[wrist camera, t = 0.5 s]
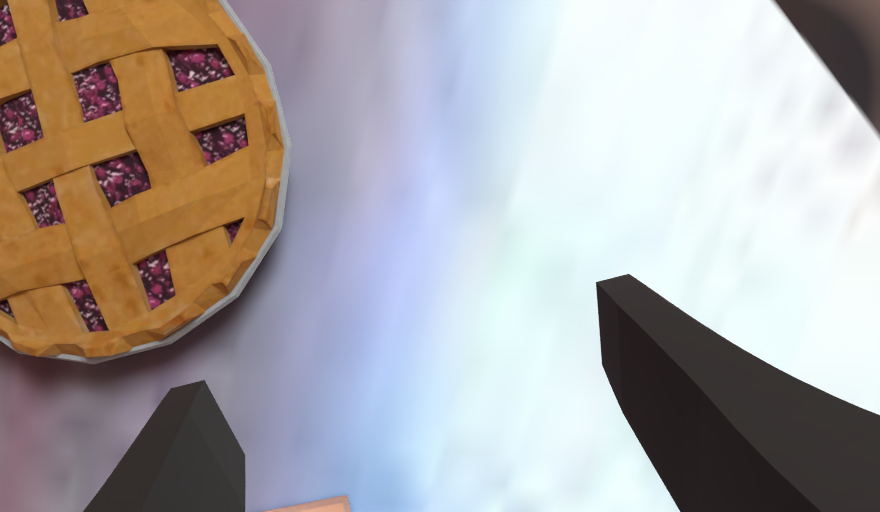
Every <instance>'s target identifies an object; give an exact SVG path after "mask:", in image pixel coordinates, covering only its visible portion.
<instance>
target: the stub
mask: <svg viewBox="0 0 880 512" xmlns="http://www.w3.org/2000/svg"><path fill="white" fill-rule="evenodd" d="M264 512H351V509H350V504H349V500H348V495H344V496H339V497H334V498H329V499H324V500H319V501H314V502H309V503H304V504H299V505H294V506H289V507H284V508H279V509H274V510H269V511H264Z"/></svg>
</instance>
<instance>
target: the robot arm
mask: <svg viewBox="0 0 880 512" xmlns="http://www.w3.org/2000/svg"><path fill="white" fill-rule="evenodd" d="M596 287H597V301H598V314H599V328H600V342H601V356H602V365H603V368H604V370H605V373H606V375H607V377H608V380H609V382H610V385H611V387H612V389H613V392H614V394H615V396H616V399H617V401H618V403H619V405H620V408H621V410H622V412H623V414H624V416H625V418H626V419H627V421H628V423H629V425H630V426H631V428H632V430H633V431H634V433H635V435H636V437H637V438H638V440H639V442H640V444H641V445H642V447H643V449H644V450H645V452H646V454H647V456H648V457H649V459H650V461H651V462H652V464H653V466H654V468H655V469H656V471H657V473H658V474H659V476H660V478H661V479H662V481H663V483H664V485H665V486H666V488H667V490H668V491H669V493H670V495H671V496H672V498H673V500H674V502H675V503H676V505H677V507H678V508H679V510H680V512H880V415H878V414H875V413H873V412H870V411H868V410H865V409H862V408H860V407H858V406H855V405H853V404H851V403H848V402H846V401H844V400H841V399H839V398H837V397H835V396H833V395H830V394H828V393H826V392H824V391H822V390H820V389H818V388H816V387H814V386H811V385H809V384H807V383H805V382H803V381H801V380H799V379H797V378H795V377H793V376H791V375H789V374H787V373H785V372H783V371H781V370H779V369H777V368H775V367H773V366H772V365H770V364H768V363H766V362H765V361H763V360H761V359H759V358H757V357H756V356H754V355H752V354H750V353H748V352H747V351H745V350H743V349H742V348H740V347H738V346H737V345H735V344H733V343H732V342H730V341H728V340H727V339H725V338H724V337H722V336H720V335H719V334H717V333H716V332H714V331H713V330H711V329H709V328H708V327H706V326H705V325H703V324H701V323H700V322H698V321H697V320H695V319H694V318H692V317H691V316H689V315H688V314H686V313H685V312H683V311H682V310H680V309H679V308H678V307H676V306H675V305H673V304H672V303H670V302H669V301H667V300H666V299H664V298H663V297H662V296H660V295H659V294H657V293H656V292H654V291H653V290H652V289H650V288H649V287H647V286H646V285H644V284H643V283H642V282H640V281H639V280H637V279H636V278H634V277H633V276H631V275H630V274H627V275H623V276H619V277H615V278H611V279H607V280H603V281H599V282H596ZM83 512H245V454H244V452H243V450H242V449H241V447H240V445H239V443H238V441H237V439H236V438H235V436H234V434H233V432H232V430H231V428H230V427H229V425H228V423H227V421H226V419H225V417H224V415H223V414H222V412H221V410H220V408H219V406H218V404H217V403H216V401H215V399H214V397H213V395H212V393H211V392H210V390H209V388H208V386H207V384H206V382H205V380H203V381H199V382H195V383H191V384H187V385H183V386H179V387H175V388H171V389H170V390H169V392H168V393H167V395H166V396H165V397H164V399H163V400H162V401H161V403H160V404H159V406H158V407H157V409H156V410H155V411H154V413H153V414H152V416H151V417H150V419H149V420H148V422H147V423H146V425H145V426H144V428H143V429H142V431H141V432H140V433H139V435H138V436H137V438H136V439H135V441H134V442H133V444H132V445H131V447H130V448H129V449H128V451H127V452H126V454H125V455H124V456H123V458H122V459H121V461H120V462H119V464H118V465H117V466H116V468H115V469H114V471H113V472H112V474H111V475H110V476H109V478H108V479H107V481H106V482H105V483H104V485H103V486H102V488H101V489H100V490H99V492H98V493H97V494H96V496H95V497H94V498H93V499H92V501H91V502H90V503H89V505H88V506H87V507H86V509H85V510H84V511H83Z"/></svg>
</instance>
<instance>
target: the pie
mask: <svg viewBox="0 0 880 512" xmlns="http://www.w3.org/2000/svg"><path fill="white" fill-rule="evenodd" d="M291 153H292V145H291V141H290V137H289V133H288V129H287V125H286V122H285V118H284V114H283V110H282V106H281V102H280V98H279V94H278V91H277V87H276V83H275V79H274V75H273V71H272V67H271V65H270V63H269V62H268V60H267V59H266V58H265V56H264V55H263V53H262V52H261V50H260V49H259V47H258V46H257V44H256V43H255V41H254V40H253V39H252V37H251V36H250V34H249V33H248V31H247V30H246V28H245V27H244V25H243V24H242V22H241V21H240V20H239V18H238V17H237V15H236V14H235V12H234V11H233V9H232V8H231V6H230V5H229V3H228V2H227V1H226V0H0V341H1V342H3V343H4V344H6V345H7V346H8V347H10V348H11V349H13V350H14V351H15V352H17V353H19V354H25V355H32V356H36V357H46V358H53V359H60V360H67V361H74V362H80V363H87V364H97V363H101V362H105V361H109V360H113V359H116V358H120V357H124V356H128V355H132V354H135V353H139V352H143V351H147V350H151V349H154V348H158V347H162V346H166V345H170V344H172V343H174V342H175V341H176V340H178V339H179V338H181V337H182V336H183V335H185V334H186V333H188V332H189V331H191V330H192V329H193V328H195V327H196V326H198V325H199V324H201V323H202V322H203V321H205V320H206V319H208V318H209V317H210V316H212V315H213V314H215V313H216V312H218V311H219V310H220V309H222V308H223V307H225V306H226V305H228V304H229V303H230V302H232V301H233V300H235V299H236V298H237V297H238V296H239V295H240V293H241V292H242V290H243V289H244V287H245V286H246V284H247V282H248V281H249V279H250V278H251V276H252V275H253V273H254V272H255V270H256V268H257V267H258V265H259V264H260V262H261V261H262V259H263V258H264V256H265V254H266V253H267V251H268V250H269V248H270V247H271V245H272V244H273V242H274V240H275V239H276V237H277V236H278V234H279V233H280V231H281V230H282V225H283V217H284V209H285V201H286V193H287V185H288V177H289V169H290V161H291Z"/></svg>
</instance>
